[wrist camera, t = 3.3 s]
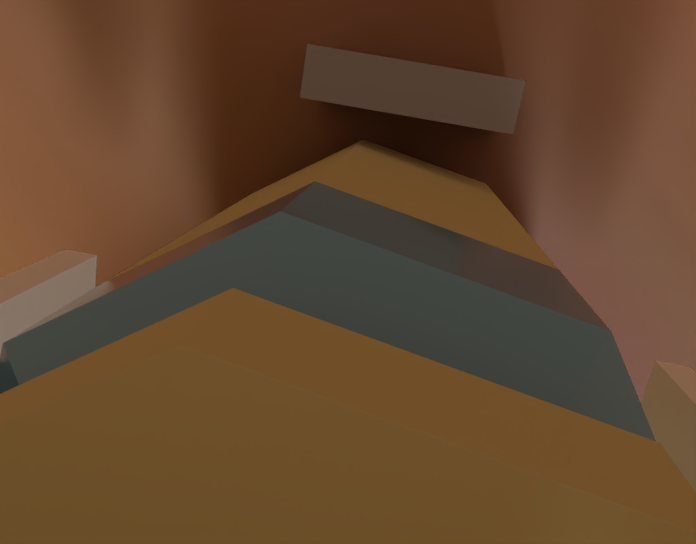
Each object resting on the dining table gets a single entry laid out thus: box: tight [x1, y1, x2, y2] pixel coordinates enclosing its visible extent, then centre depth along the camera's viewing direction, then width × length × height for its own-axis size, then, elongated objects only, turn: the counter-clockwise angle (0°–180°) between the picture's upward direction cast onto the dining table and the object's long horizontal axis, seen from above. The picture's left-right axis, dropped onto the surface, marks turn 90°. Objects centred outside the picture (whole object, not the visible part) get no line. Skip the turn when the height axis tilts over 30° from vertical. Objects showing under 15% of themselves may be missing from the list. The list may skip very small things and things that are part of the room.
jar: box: [0, 139, 696, 544], centre depth 12 cm, size 9×9×15 cm
